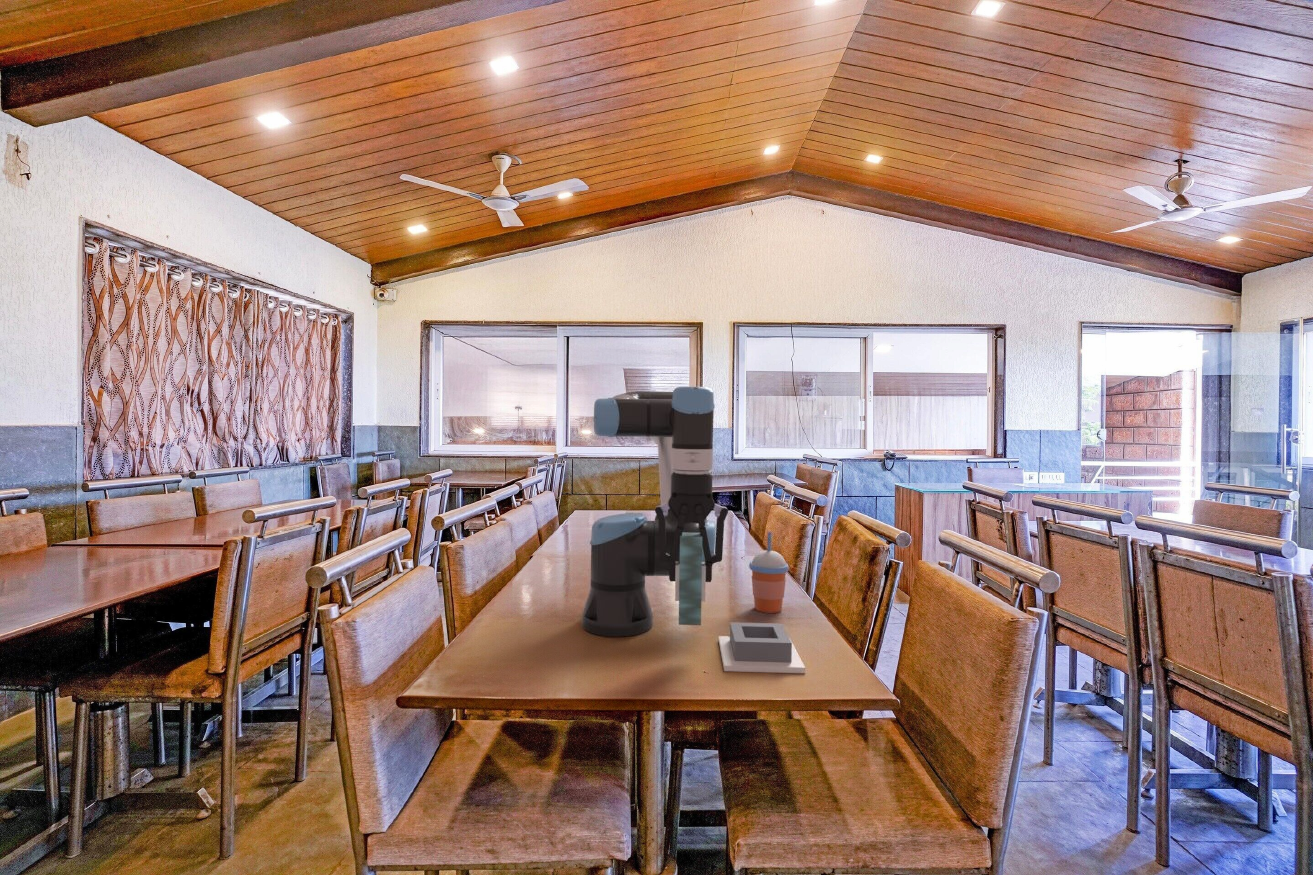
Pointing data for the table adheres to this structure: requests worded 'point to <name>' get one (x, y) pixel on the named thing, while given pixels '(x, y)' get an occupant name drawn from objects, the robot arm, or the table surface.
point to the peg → (690, 579)
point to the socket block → (759, 649)
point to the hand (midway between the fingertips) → (689, 598)
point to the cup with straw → (768, 579)
